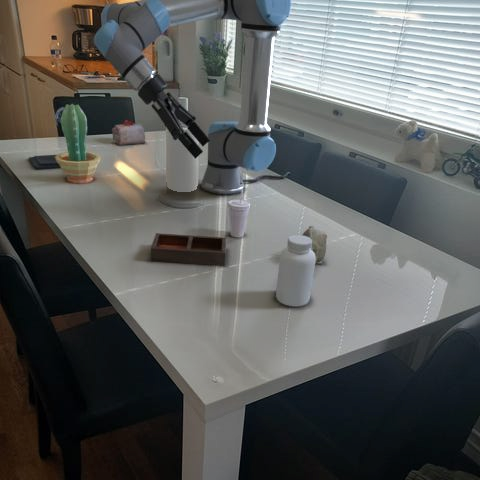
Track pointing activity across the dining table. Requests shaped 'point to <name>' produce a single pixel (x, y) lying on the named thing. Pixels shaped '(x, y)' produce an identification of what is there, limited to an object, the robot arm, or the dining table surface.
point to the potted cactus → (75, 145)
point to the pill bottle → (296, 271)
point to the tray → (188, 249)
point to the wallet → (44, 162)
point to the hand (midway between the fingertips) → (203, 149)
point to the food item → (129, 133)
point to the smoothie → (238, 215)
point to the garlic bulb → (317, 242)
